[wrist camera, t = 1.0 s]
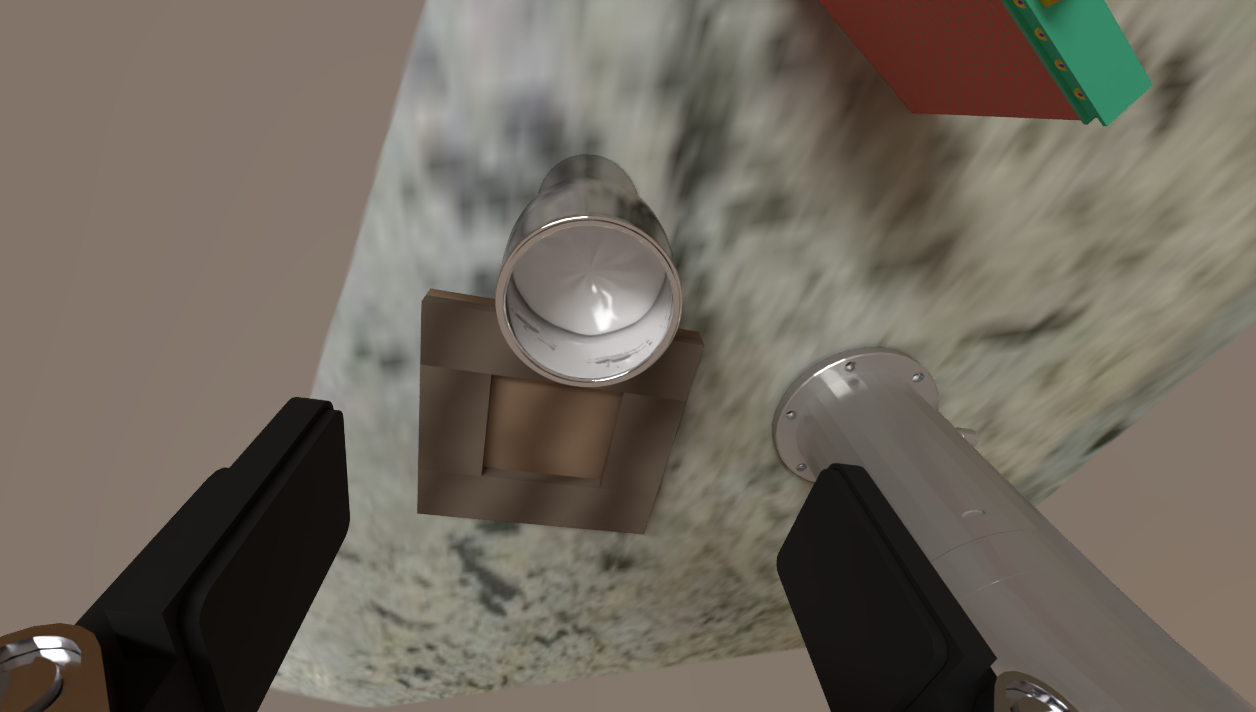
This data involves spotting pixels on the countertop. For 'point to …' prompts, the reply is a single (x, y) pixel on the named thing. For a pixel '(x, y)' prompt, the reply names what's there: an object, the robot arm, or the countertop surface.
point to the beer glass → (588, 278)
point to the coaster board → (539, 428)
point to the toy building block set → (998, 56)
